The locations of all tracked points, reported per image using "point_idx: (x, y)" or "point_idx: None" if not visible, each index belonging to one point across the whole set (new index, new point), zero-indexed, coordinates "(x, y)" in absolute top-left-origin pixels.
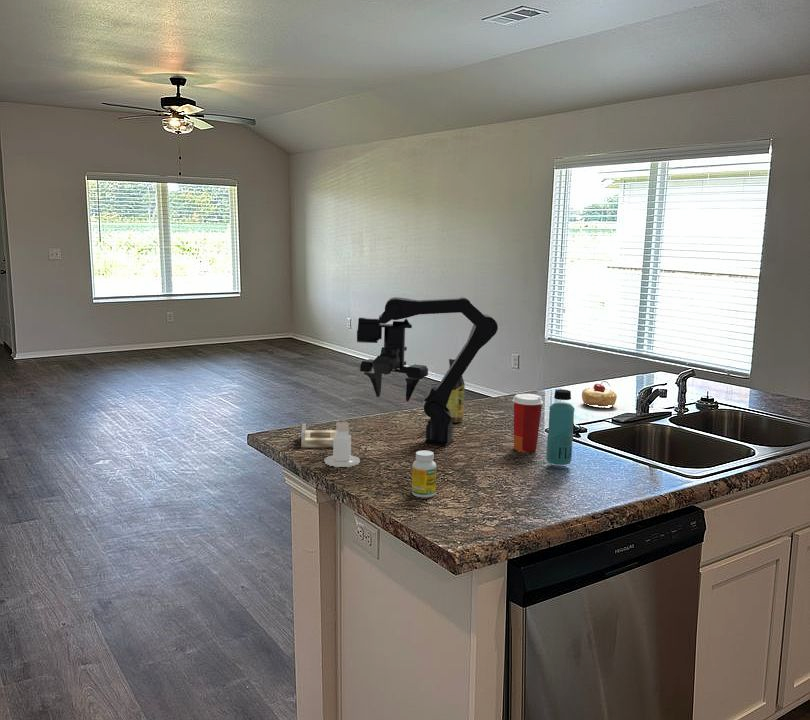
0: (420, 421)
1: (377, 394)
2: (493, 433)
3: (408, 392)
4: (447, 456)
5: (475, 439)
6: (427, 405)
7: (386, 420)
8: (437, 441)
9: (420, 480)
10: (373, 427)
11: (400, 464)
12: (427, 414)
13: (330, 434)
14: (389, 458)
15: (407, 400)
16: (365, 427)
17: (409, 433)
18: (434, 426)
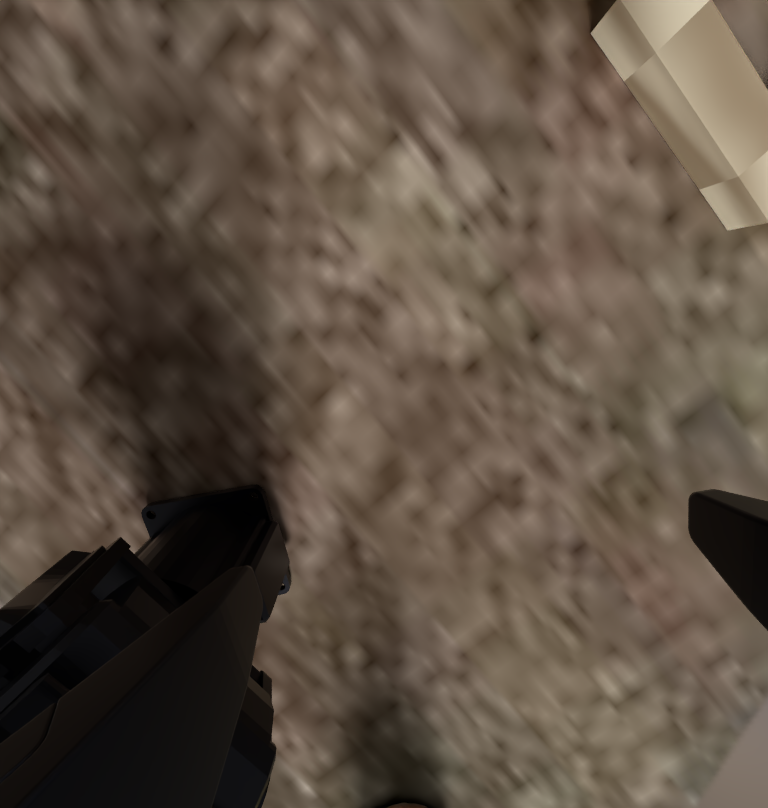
0: (520, 748)
1: (726, 502)
2: None
3: (116, 664)
4: (12, 373)
5: None
6: (56, 641)
7: (670, 669)
8: (186, 511)
9: None
10: (656, 533)
11: (50, 31)
12: (133, 581)
13: (760, 83)
14: (186, 89)
15: (223, 573)
16: None
17: (434, 568)
18: (161, 558)
